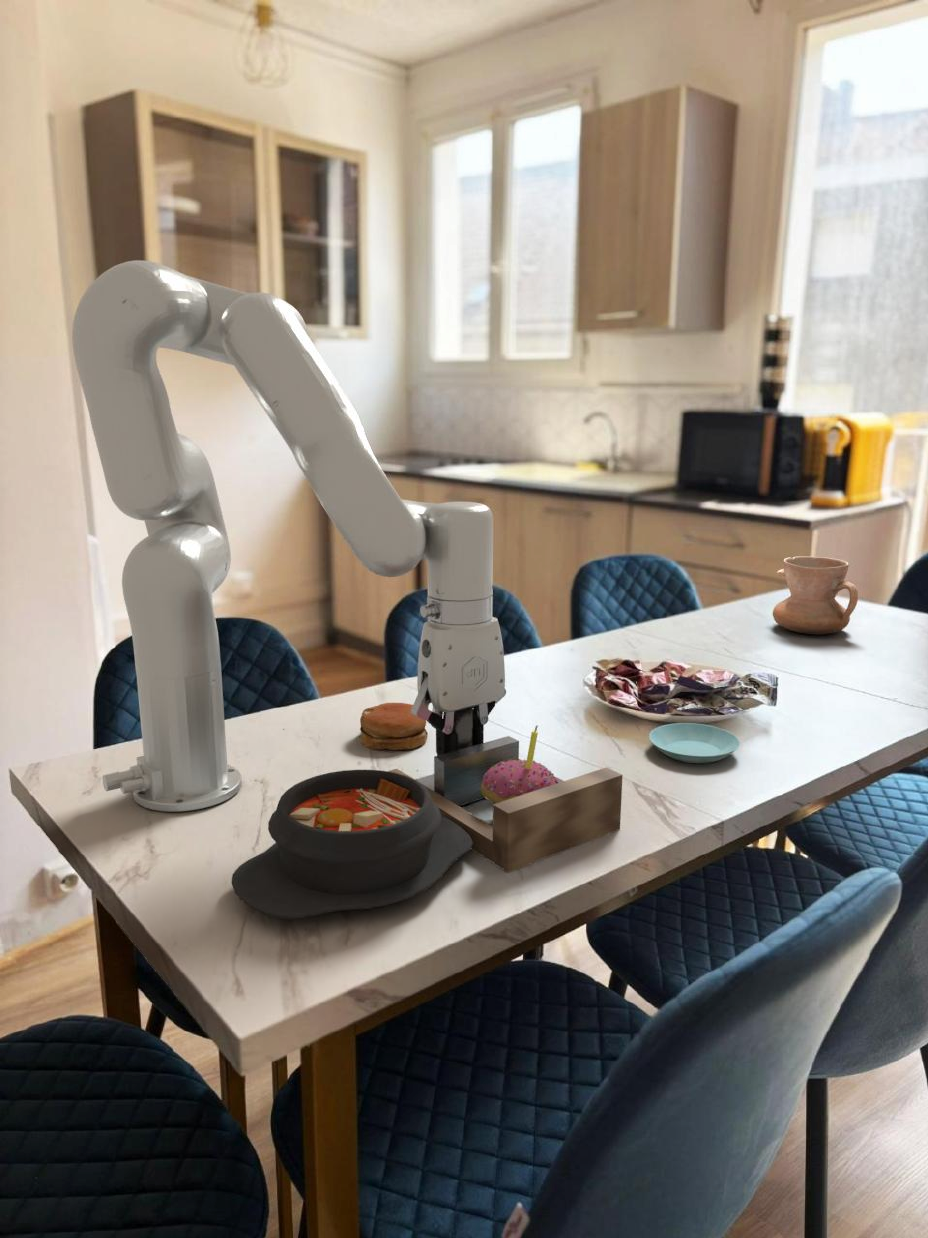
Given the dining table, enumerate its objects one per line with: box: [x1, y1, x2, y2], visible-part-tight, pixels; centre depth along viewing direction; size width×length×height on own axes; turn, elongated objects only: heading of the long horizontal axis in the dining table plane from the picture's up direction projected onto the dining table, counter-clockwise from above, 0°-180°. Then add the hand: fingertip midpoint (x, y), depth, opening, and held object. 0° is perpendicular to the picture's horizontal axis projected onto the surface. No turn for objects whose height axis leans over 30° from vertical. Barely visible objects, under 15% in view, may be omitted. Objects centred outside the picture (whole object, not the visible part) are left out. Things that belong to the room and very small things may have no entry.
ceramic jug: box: [772, 555, 859, 635], centre depth 184 cm, size 18×14×14 cm
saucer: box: [648, 722, 741, 764], centre depth 124 cm, size 12×12×2 cm
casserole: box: [231, 769, 473, 920], centre depth 92 cm, size 25×19×8 cm
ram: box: [414, 707, 520, 807], centre depth 111 cm, size 11×7×10 cm, turn 126°
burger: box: [359, 702, 428, 751], centre depth 128 cm, size 10×9×5 cm
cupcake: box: [481, 724, 558, 805], centre depth 103 cm, size 9×8×12 cm
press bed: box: [386, 758, 623, 873], centre depth 107 cm, size 16×24×6 cm, turn 36°
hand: (459, 755), depth 112 cm, fingers closed on ram, 3 cm apart
